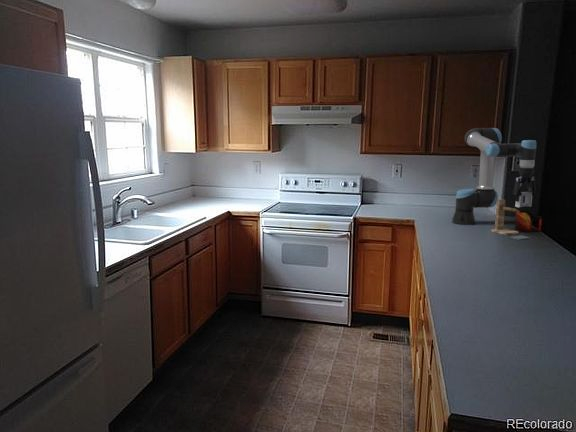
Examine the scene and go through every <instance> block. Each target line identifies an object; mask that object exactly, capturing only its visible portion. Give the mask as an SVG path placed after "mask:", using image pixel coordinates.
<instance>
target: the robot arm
mask: <svg viewBox="0 0 576 432" xmlns="http://www.w3.org/2000/svg"><path fill="white" fill-rule="evenodd" d="M502 138H503V137H502V133H501V131H500V130H499V128H497V127H496V128H495V127H475V128H471V129H469V130H468V131H467V132H466V133H465V135H464V143H466V145H468V146H470V147H476V148H478V150H479V151H480V159H479V160H480V161H479V175H478V176H479V177H478V186H476V188H463V189H459V190H457V191H456V195H455V209H454V211H455V212H454V214H453V217H451V222H452V224H455V225H463V226H465V225H471V226H472V225H475V224H476V219H475V213H474V209H475V208H477V209H479V208H480V209H481V208H483V209H485V208H486V209H487V208H488V209H489V208H493V207H495V206H496V205H497V200H499V194H498V192H497V191H496V189H495V187H494V186H493V184H494V183H493V180H494V166H495V165H494V164H495V158H496V157H520V159H519V164H518V165H519V169H518V174H519V177H515V179H514V181H515V182H514V186H513V191H512V195H513V196H515V205H514V208H515V207H516V208H521V207H520V203H521V196H520V194H521V192H523V190H524V187H525V186H526V189H527V192H532V197H531V205H532V202H533V197H534V196H535V195H536V194H537V187H536V185H537V184H536V181H537V177H536V176H533V175H534V174H535V163H536V162H535V160H536V155H537V154H536V153H537V141H536V140H535V139H534V140H532V139H525V140H522V141H521V142H520V143H518V142H516V143H502V140H503V139H502Z"/></svg>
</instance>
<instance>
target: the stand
mask: <svg viewBox="0 0 576 432" xmlns="http://www.w3.org/2000/svg"><path fill="white" fill-rule="evenodd" d="M495 206H496V207H495V208H496V209H495V220H494V222H495V223H494V228H492V229H490V232H493V233H496V234H501V235H505V236H510V235H511V236H512V235H519V234H520V233H519V232H520V231H517V230H512V229H508V228H504V222H505V214H506V213H505V212H506V211H508V212H512V213H513V212H514V213H516V212H517V211H518V209H517V208H515V207H514V208H513V207H508V206H506V199H498V200H497V203H496V205H495Z"/></svg>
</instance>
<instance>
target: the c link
mask: <svg viewBox="0 0 576 432" xmlns="http://www.w3.org/2000/svg"><path fill="white" fill-rule="evenodd" d="M520 196H521V203H520V207H519V208H523V207H532V204H531V197H532V192H528V191H522V192H521V194H520Z"/></svg>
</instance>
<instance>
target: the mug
mask: <svg viewBox="0 0 576 432" xmlns="http://www.w3.org/2000/svg"><path fill="white" fill-rule="evenodd" d="M534 219H536V220H537V219H538V220H539V223H538V227H537V226H536V227H535V226H533V221H534ZM514 221H515V223H514V231H518V232H525V233H526V232H527V233H529V232H532V231H534V230H535V231H542V221H543V216H541V215H540V216H539V215H534V211H530V210H525V209H524V210H523V209H522V210H518V209H517V212H515V220H514Z"/></svg>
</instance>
